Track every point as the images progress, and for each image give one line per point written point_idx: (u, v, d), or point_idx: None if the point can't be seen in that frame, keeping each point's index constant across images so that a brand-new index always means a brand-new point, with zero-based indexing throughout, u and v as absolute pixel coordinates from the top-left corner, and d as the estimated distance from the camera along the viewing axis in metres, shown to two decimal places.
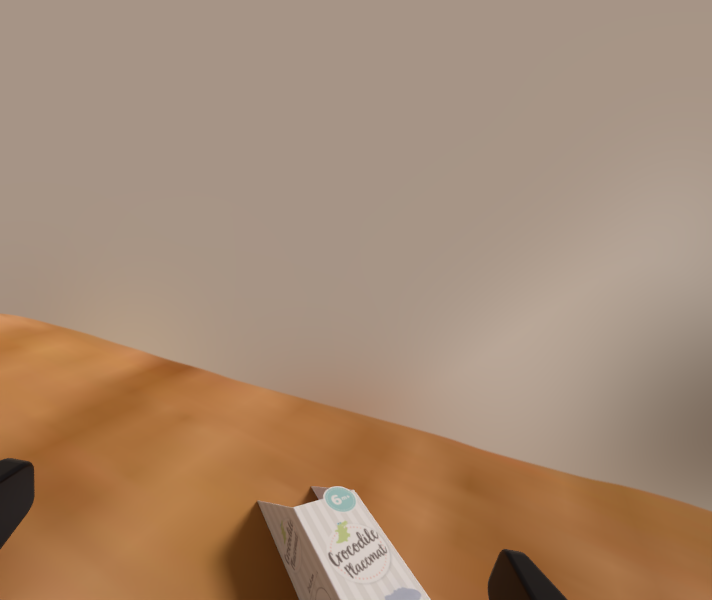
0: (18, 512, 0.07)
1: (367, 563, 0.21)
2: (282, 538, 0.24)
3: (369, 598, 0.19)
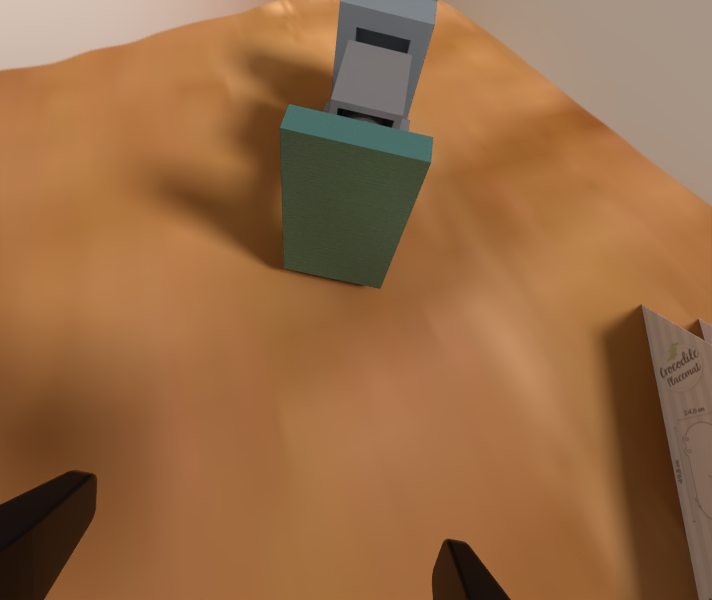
0: (83, 523, 0.07)
1: None
2: (667, 355, 0.25)
3: None
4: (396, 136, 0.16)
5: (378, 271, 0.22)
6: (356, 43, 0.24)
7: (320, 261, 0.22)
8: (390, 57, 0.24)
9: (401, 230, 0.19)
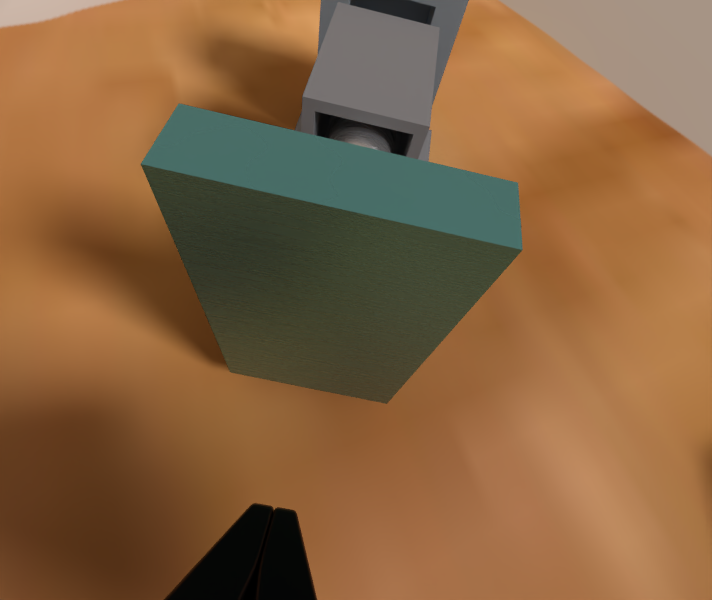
0: None
1: None
2: None
3: None
4: (434, 182, 0.07)
5: (384, 388, 0.13)
6: (350, 8, 0.15)
7: (286, 370, 0.13)
8: (405, 30, 0.15)
9: (431, 348, 0.10)
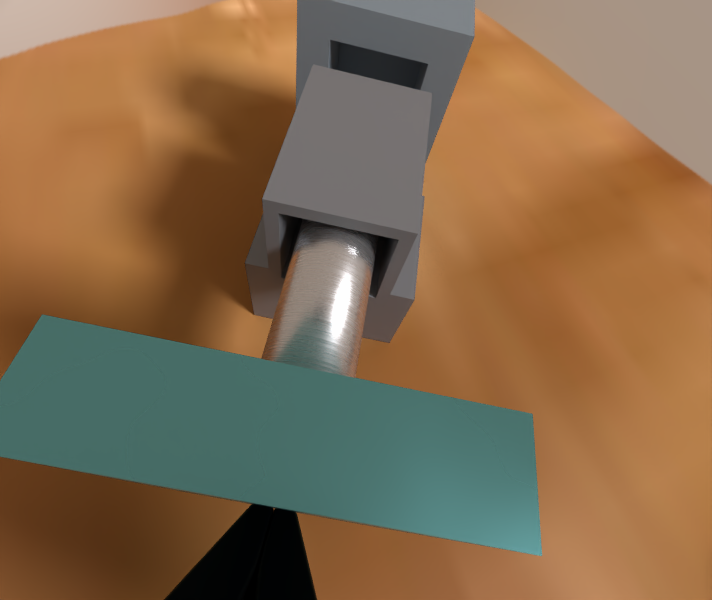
0: None
1: None
2: None
3: None
4: (412, 428, 0.05)
5: None
6: (327, 72, 0.13)
7: None
8: (391, 99, 0.12)
9: None
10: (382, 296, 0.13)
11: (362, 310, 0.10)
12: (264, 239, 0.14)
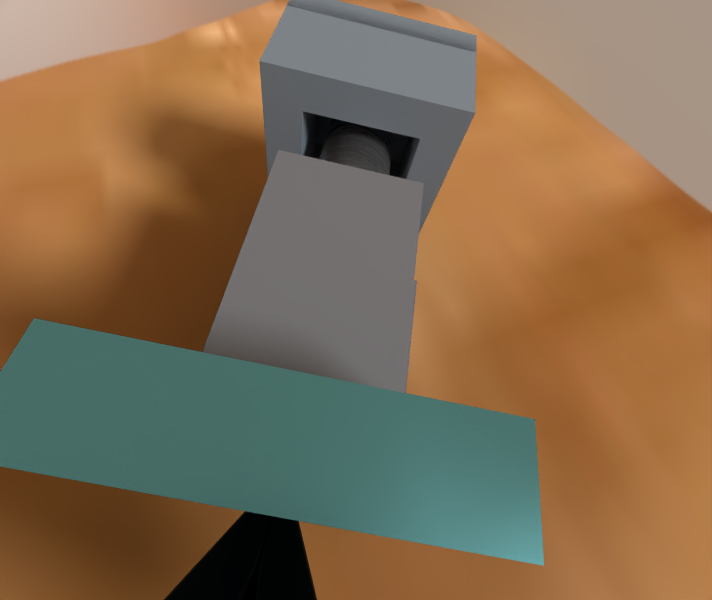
0: None
1: None
2: None
3: None
4: (412, 433, 0.04)
5: None
6: (296, 161, 0.10)
7: None
8: (373, 194, 0.10)
9: None
10: None
11: None
12: None
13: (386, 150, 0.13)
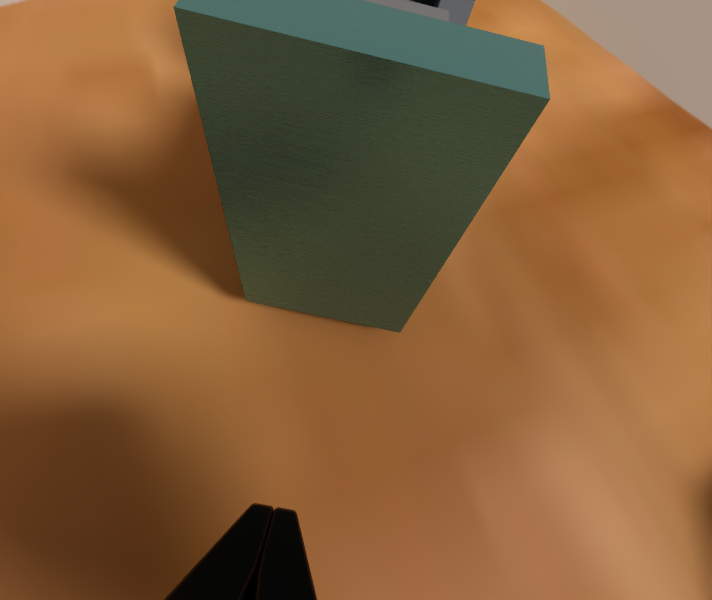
0: None
1: None
2: None
3: None
4: (461, 39, 0.07)
5: (399, 310, 0.13)
6: None
7: (302, 293, 0.13)
8: None
9: (449, 249, 0.10)
10: None
11: None
12: None
13: None
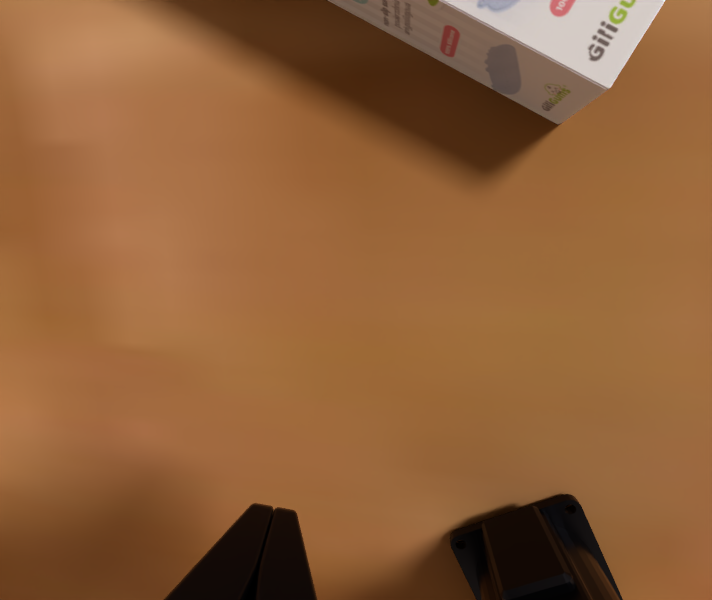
0: None
1: None
2: None
3: None
4: None
5: None
6: None
7: None
8: None
9: None
10: None
11: None
12: None
13: None
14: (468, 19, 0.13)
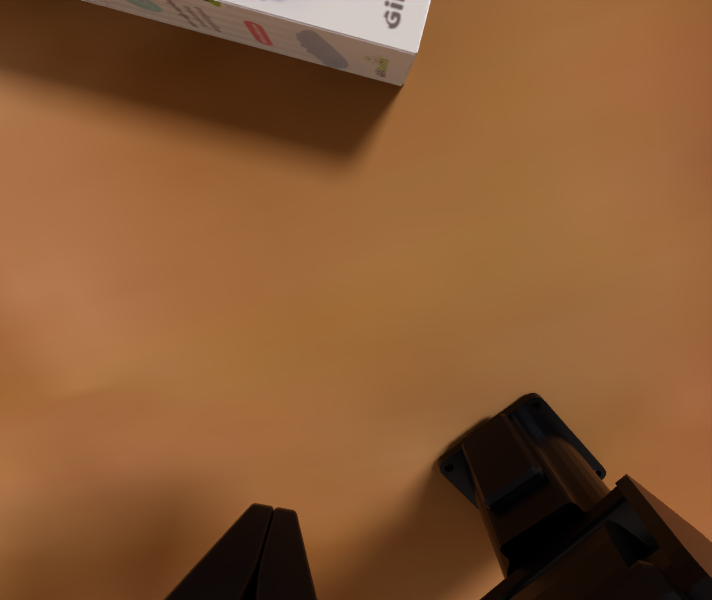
0: None
1: None
2: None
3: None
4: None
5: None
6: None
7: None
8: None
9: None
10: None
11: None
12: None
13: None
14: (257, 14, 0.12)
